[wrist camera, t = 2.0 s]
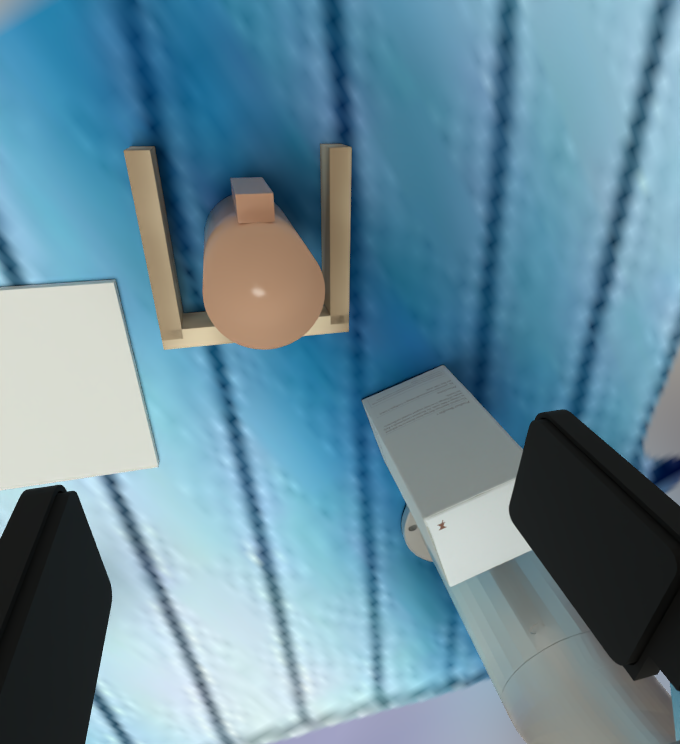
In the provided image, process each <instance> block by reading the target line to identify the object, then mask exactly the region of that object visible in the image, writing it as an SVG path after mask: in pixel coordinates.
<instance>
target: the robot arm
mask: <svg viewBox="0 0 680 744" xmlns="http://www.w3.org/2000/svg"><path fill="white" fill-rule="evenodd" d="M509 515H510V518H511V521H512V522H513V524H514V525H515V527H516V528H517V530H518V531H519V532H520V534H521V535H522V536H523V538H524V539H525V541H526V542H527V543H528V545H529V546H530V548H531V549H532V550H531V551H529V552H526V553H524V554H522V555H520V556H518V557H515V558H513V559H511V560H509V561H506V562H504V563H502V564H500V565H498V566H495V567H493V568H491V569H489V570H487V571H484V572H482V573H480V574H478V575H476V576H473V577H471V578H469V579H467V580H465V581H463V582H461V583H459V584H457V585H454V586H452V587H450V586H449V585H448V583H447V581H446V580H445V578H444V576H443V574H442V572H441V570H440V568H439V566H438V564H437V562H436V560H435V559H434V557H433V555H432V553H431V551H430V549H429V547H428V545H427V543H426V541H425V539H424V537H423V535H422V533H421V531H420V529H419V528H418V526H417V524H416V521H415V519H414V517H413V515H412V514H411V512H410V510H409V508H408V506H407V505H406V508H405V510H404V513H403V516H402V522H401V528H402V534H403V537H404V539H405V542H406V544H407V546H408V547H409V549H410V550H411V551H412V552H413V553H414V554H415V555H416V556H418V557H420V558H422V559H424V560H427V561H431V562H434V564H435V566H436V568H437V570H438V572H439V574H440V576H441V578H442V581H443V583H444V585H445V587H446V589H447V591H448V593H449V595H450V597H451V599H452V601H453V603H454V605H455V607H456V609H457V611H458V613H459V615H460V617H461V619H462V621H463V623H464V625H465V627H466V630H467V632H468V634H469V636H470V638H471V640H472V642H473V644H474V646H475V648H476V650H477V652H478V654H479V656H480V658H481V660H482V662H483V664H484V666H485V668H486V670H487V672H488V674H489V676H490V679H491V681H492V683H493V684H494V687H495V689H496V691H497V693H498V695H499V697H500V699H501V701H502V703H503V705H504V707H505V709H506V711H507V713H508V715H509V717H510V719H511V721H512V723H513V724H514V726H515V728H516V730H517V731H518V733H519V734H520V735H521V737H522V738H523V740H524V741H525V742H526V743H527V744H680V506H679V505H678V504H677V503H675V502H674V501H673V500H672V499H671V498H670V497H668V496H667V495H666V494H665V493H664V492H663V491H661V490H660V489H659V488H658V487H657V486H656V485H654V484H653V483H652V482H651V481H650V480H649V479H647V478H646V477H645V476H644V475H643V474H642V473H640V472H639V471H638V470H637V469H636V468H635V467H634V466H632V465H631V464H630V463H629V462H628V461H627V460H625V459H624V458H623V457H622V456H621V455H620V454H618V453H617V452H616V451H615V450H614V449H613V448H611V447H610V446H609V445H608V444H607V443H606V442H604V441H603V440H602V439H601V438H600V437H599V436H597V435H596V434H595V433H594V432H593V431H592V430H590V429H589V428H588V427H587V426H586V425H585V424H584V423H582V422H581V421H580V420H579V419H578V418H577V417H575V416H574V415H573V414H572V413H571V412H569V411H567V410H556V411H549V412H543V413H539V414H538V415H537V416H536V418H535V420H534V421H532V422H531V423H530V426H529V429H528V433H527V437H526V441H525V445H524V449H523V453H522V457H521V460H520V464H519V468H518V472H517V476H516V480H515V484H514V488H513V492H512V496H511V500H510V504H509ZM111 603H112V589H111V584H110V581H109V578H108V576H107V573H106V570H105V567H104V565H103V562H102V559H101V557H100V554H99V551H98V549H97V546H96V543H95V540H94V538H93V535H92V532H91V530H90V527H89V524H88V522H87V519H86V516H85V513H84V511H83V508H82V505H81V503H80V500H79V497H78V495H77V493H76V492H75V491H69V492H67V491H66V489H65V487H63V486H62V485H55V486H48V487H42V488H35V489H28V490H25V491H24V492H23V493H22V494H21V496H20V498H19V500H18V502H17V504H16V507H15V509H14V511H13V513H12V515H11V517H10V519H9V521H8V524H7V526H6V528H5V530H4V532H3V534H2V536H1V538H0V744H85V741H86V736H87V731H88V725H89V720H90V715H91V709H92V704H93V699H94V693H95V688H96V683H97V678H98V672H99V667H100V662H101V656H102V651H103V646H104V641H105V635H106V630H107V625H108V619H109V614H110V609H111ZM660 670H661V671H662V672H663V674H664V675H665V676H666V677H667V679H668V680H669V681H670V687H671V696H670V695H669V693H668V692H667V691H666V690H665V688H664V687H663V686H662V685H661V684H660V682H659V681H658V680H657V679H656V677H655V676H654V675H656V674H658V673H659V671H660Z"/></svg>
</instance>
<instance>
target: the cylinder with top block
mask: <svg viewBox="0 0 680 744" xmlns="http://www.w3.org/2000/svg"><path fill="white" fill-rule="evenodd" d="M230 179H231V189H232V195H231V196H228V197H226V198H225V199H223V200H222V201H220V202H219V203H218V204H217V205H216V206H215V207H214V208H213V209H212V211H211V212H210V214H209V216H208V218H207V221H206V224H205V230H204V262H203V301H204V305H205V309H206V312H207V314H208V316H209V318H210V320H211V322H212V323H213V325H214V326H215V327H216V328H217V329H218V331H219V332H220V333H221V334H223V335H224V336H225V337H226V338H228V339H229V340H231V341H233V342H235V343H237V344H239V345H241V346H245V347H248V348H253V349H274V348H279V347H282V346H286V345H288V344H290V343H292V342H294V341H296V340H298V339H299V338H301V337H302V336H303V335H305V334H306V333H307V332H308V331H309V330H310V329H311V327H312V326H313V325H314V324H315V322H316V321H317V319H318V317H319V315H320V313H321V311H322V308H323V304H324V299H325V283H324V278H323V274H322V272H321V269H320V267H319V265H318V263H317V261H316V260H315V258H314V257H313V255H312V254H311V252H310V251H309V250H308V248H307V247H306V245H305V244H304V242H303V241H302V239H301V238H300V236H299V235H298V233H297V232H296V230H295V229H294V227H293V226H292V224H291V223H290V222H289V220H288V219H287V217H286V216H285V214H284V213H283V211H282V210H281V209H280V208H279V207H278V206H277V205H276V204H275V203H274V196H273V192H272V191H271V189H270V188H269V186H268V185H267V184H266V182H265V181H264V179H263V178H262V177H250V178H230Z"/></svg>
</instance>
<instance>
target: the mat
mask: <svg viewBox="0 0 680 744" xmlns="http://www.w3.org/2000/svg"><path fill="white" fill-rule="evenodd" d="M155 467H159V459H158V455H157V451H156V446H155V442H154V438H153V434H152V430H151V426H150V421H149V417H148V413H147V409H146V405H145V401H144V397H143V392H142V388H141V384H140V380H139V376H138V372H137V367H136V363H135V359H134V355H133V351H132V347H131V342H130V338H129V334H128V330H127V326H126V322H125V318H124V313H123V309H122V305H121V301H120V297H119V293H118V288H117V284H116V280H115V279H113V280H98V281H84V282H69V283H54V284H39V285H25V286H10V287H0V490H6V489H13V488H20V487H26V486H33V485H40V484H47V483H54V482H60V481H67V480H74V479H81V478H87V477H94V476H101V475H108V474H115V473H121V472H128V471H135V470H142V469H148V468H155Z"/></svg>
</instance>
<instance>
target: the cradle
mask: <svg viewBox="0 0 680 744" xmlns="http://www.w3.org/2000/svg"><path fill="white" fill-rule="evenodd" d="M124 155H125V160H126V165H127V170H128V175H129V180H130V184H131V189H132V194H133V199H134V204H135V209H136V214H137V219H138V224H139V229H140V234H141V239H142V244H143V249H144V253H145V258H146V263H147V268H148V273H149V278H150V283H151V288H152V293H153V298H154V303H155V308H156V313H157V318H158V322H159V327H160V332H161V337H162V342H163V347H164V350H166V349H176V348H186V347H197V346H207V345H217V344H227V343H235V342H233V341H231V340H229V339H228V338H226V337H225V336H224V335H223V334H221V333H220V332H219V331H218V329H217V328H216V327H215V326H214V325H213V323H212V322H211V320H210V318H209V316H208V314H207V312H194V313H183V308H182V302H181V296H180V290H179V284H178V279H177V273H176V267H175V261H174V255H173V250H172V244H171V238H170V232H169V226H168V221H167V215H166V209H165V203H164V197H163V191H162V186H161V180H160V174H159V168H158V162H157V157H156V151H155V146H131V147H129V148H127V149H126V150H124ZM351 155H352V147H349V146H346V145H343V144H320V170H321V241H322V274H323V278H324V283H325V299H324V304H323V308H322V311H321V313H320V315H319V317H318V319H317V321H316V322H315V324H314V325H313V326H312V327H311V329H310V330H309V331H308V332H307V333H306V334H305V335H303V336H308V335H318V334H328V333H338V332H349V279H350V217H351Z"/></svg>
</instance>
